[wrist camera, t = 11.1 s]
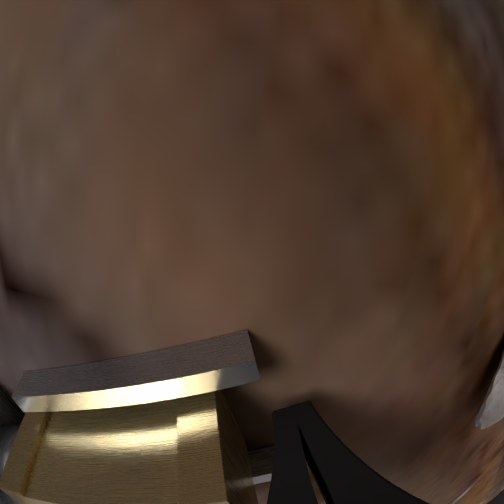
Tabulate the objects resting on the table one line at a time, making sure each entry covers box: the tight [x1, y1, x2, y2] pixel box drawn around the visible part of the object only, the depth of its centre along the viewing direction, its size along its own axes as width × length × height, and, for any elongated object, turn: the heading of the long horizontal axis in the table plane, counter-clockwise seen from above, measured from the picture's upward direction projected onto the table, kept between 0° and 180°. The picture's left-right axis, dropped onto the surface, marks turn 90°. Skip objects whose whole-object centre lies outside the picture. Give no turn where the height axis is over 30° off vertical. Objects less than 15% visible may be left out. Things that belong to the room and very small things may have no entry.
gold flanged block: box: [0, 389, 258, 504], centre depth 8 cm, size 5×8×5 cm, turn 102°
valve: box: [0, 330, 274, 504], centre depth 7 cm, size 8×22×7 cm, turn 102°
